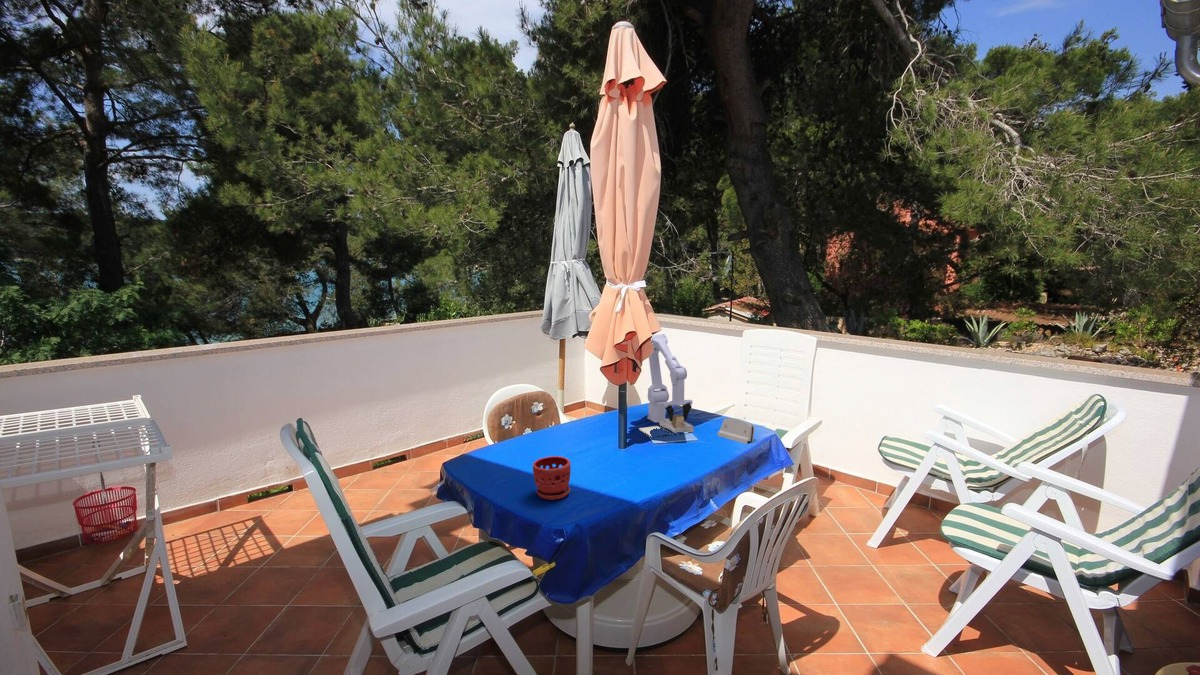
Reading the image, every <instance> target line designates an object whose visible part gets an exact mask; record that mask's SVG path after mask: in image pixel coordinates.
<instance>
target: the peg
mask: <svg viewBox="0 0 1200 675" xmlns="http://www.w3.org/2000/svg"><path fill="white" fill-rule="evenodd" d="M684 420H685V419H684V417H683V414H682V415H681V414H673V422H672V424H673V425H675V426H681V425H684Z"/></svg>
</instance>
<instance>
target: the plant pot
mask: <svg viewBox="0 0 1200 675" xmlns="http://www.w3.org/2000/svg"><path fill="white" fill-rule="evenodd" d="M553 465H555V466H553ZM560 465H561V466H560ZM547 467H548V468H547ZM571 469H572V468H571V460H570V459H569V458H567V457H564V456H558V455H555V456H545V457H542V458H538V459H537V460H535V461H534V462H533V463H532V474H533V478H534V483H535V486H536V487H537V489H536V494H537V496H539V497H540V498H542V499H545V500H550V501H554V500H559V499H562V498H564V497H566V496H568V494H569V493H570V492H571V486H569V484H570V479H571Z"/></svg>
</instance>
